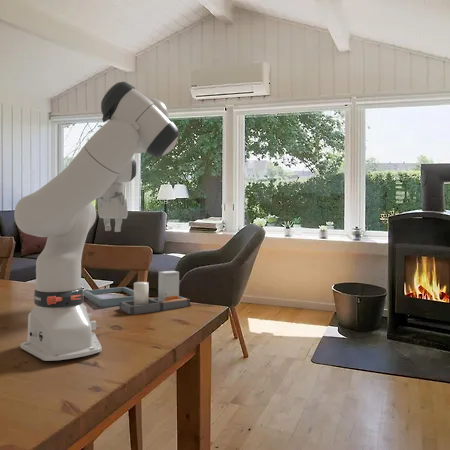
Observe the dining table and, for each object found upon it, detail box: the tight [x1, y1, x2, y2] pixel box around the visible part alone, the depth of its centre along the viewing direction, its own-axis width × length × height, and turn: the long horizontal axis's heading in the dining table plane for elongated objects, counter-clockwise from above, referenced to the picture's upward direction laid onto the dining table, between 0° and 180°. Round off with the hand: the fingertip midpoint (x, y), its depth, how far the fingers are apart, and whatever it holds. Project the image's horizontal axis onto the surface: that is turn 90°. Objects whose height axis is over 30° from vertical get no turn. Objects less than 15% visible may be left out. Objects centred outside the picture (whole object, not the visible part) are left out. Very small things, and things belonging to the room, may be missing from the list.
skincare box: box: [157, 270, 180, 302], centre depth 156 cm, size 6×4×12 cm
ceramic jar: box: [133, 281, 150, 306], centre depth 151 cm, size 5×5×9 cm
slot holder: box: [118, 295, 191, 316], centre depth 154 cm, size 9×22×3 cm, turn 124°
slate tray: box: [83, 286, 134, 309], centre depth 165 cm, size 20×16×3 cm
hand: (112, 231), depth 164 cm, fingers open, 8 cm apart
